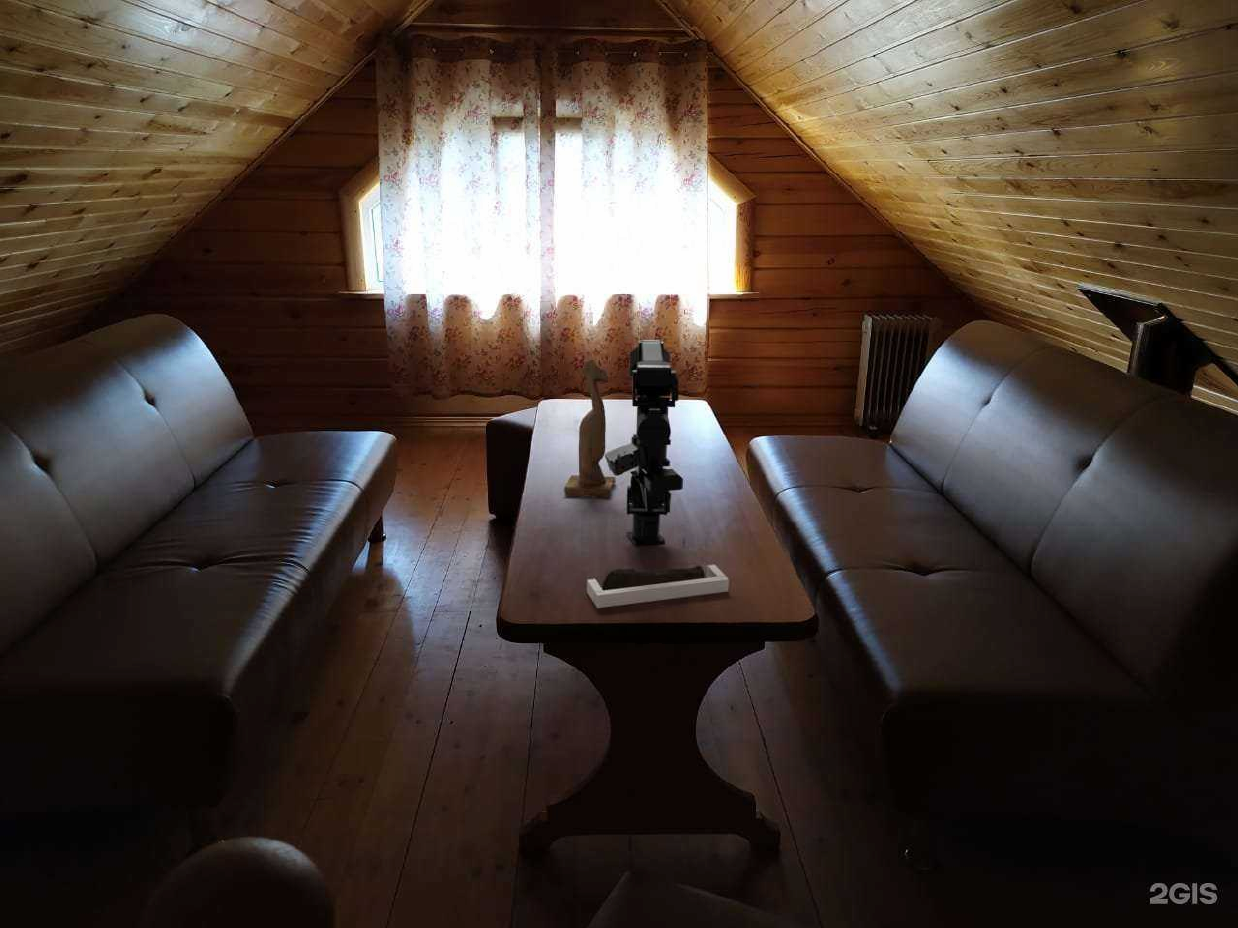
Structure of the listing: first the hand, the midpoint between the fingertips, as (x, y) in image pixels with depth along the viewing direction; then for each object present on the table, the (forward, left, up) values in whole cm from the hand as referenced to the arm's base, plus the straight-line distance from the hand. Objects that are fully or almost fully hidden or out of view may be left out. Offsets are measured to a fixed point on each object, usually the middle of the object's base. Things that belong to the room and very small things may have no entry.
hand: (649, 510), depth 167 cm
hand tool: (+9, -2, -12) cm, 16 cm away
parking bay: (+10, -2, -12) cm, 16 cm away
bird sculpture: (-46, +1, -12) cm, 47 cm away
